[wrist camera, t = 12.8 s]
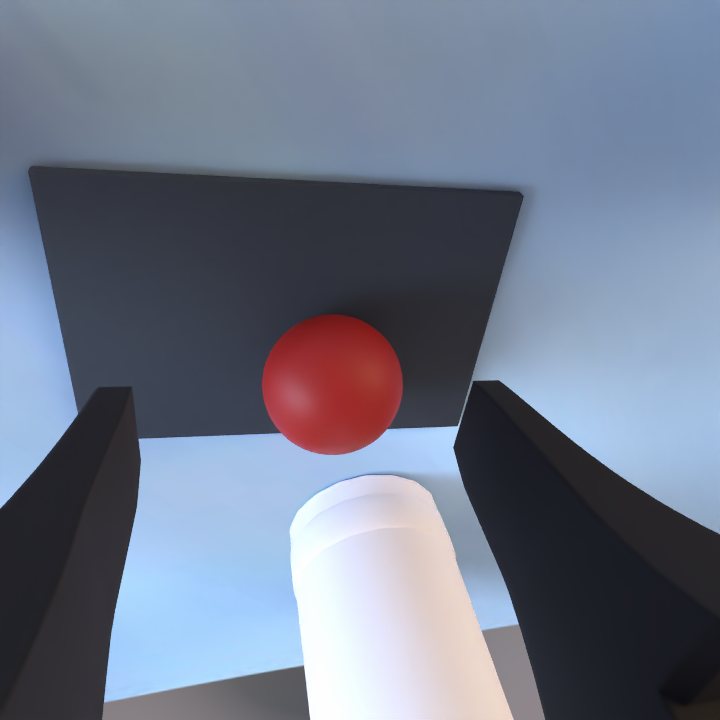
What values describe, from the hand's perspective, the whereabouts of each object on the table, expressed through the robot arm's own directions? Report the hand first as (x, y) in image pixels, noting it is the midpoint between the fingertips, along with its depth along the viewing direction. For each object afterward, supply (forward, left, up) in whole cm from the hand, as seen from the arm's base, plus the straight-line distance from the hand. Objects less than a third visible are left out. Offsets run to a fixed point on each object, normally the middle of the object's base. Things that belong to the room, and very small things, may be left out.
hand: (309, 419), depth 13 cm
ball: (+2, -5, -10) cm, 11 cm away
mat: (+1, -4, -10) cm, 11 cm away
